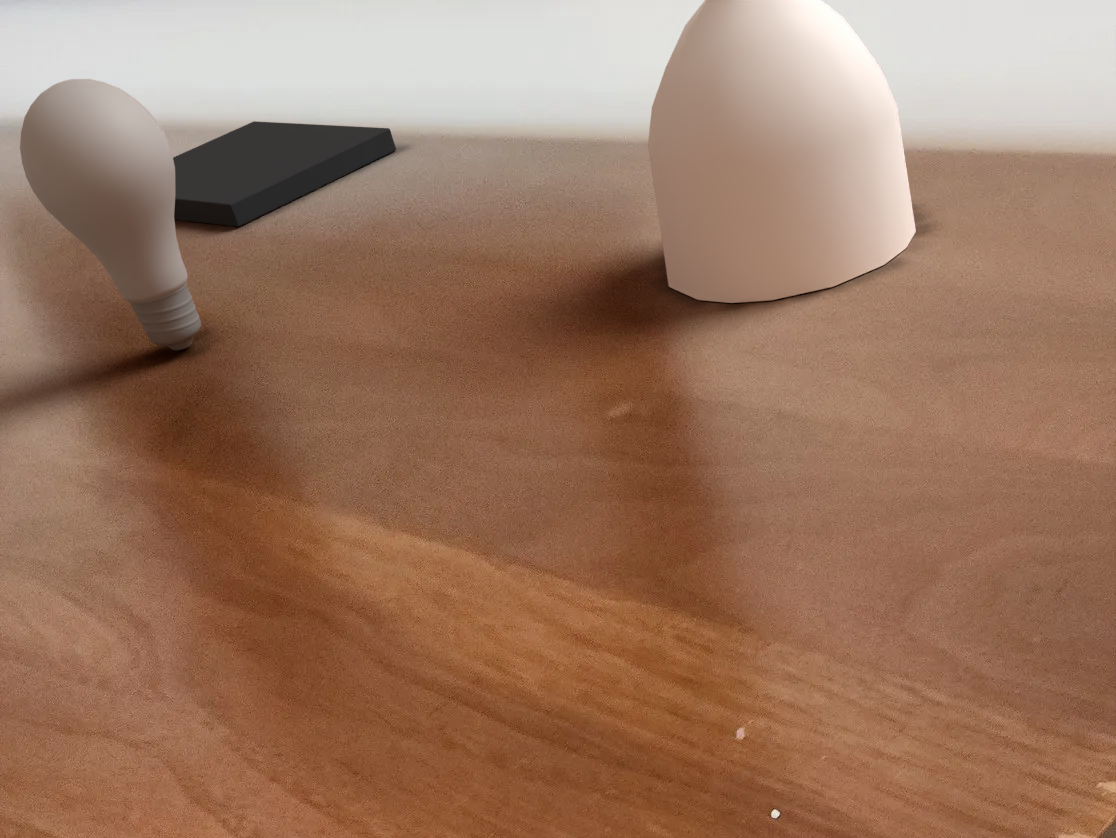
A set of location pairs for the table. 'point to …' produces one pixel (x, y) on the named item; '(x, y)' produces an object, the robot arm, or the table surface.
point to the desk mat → (268, 168)
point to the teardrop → (775, 154)
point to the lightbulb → (114, 196)
